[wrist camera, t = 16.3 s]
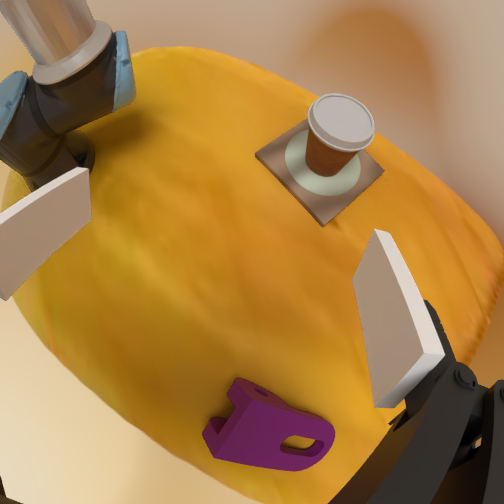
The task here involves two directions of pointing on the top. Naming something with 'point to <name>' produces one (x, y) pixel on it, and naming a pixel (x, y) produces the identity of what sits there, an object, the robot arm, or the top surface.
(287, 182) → the coaster
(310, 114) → the disposable coffee cup
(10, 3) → the robot arm
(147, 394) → the top surface
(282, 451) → the mounting bracket
